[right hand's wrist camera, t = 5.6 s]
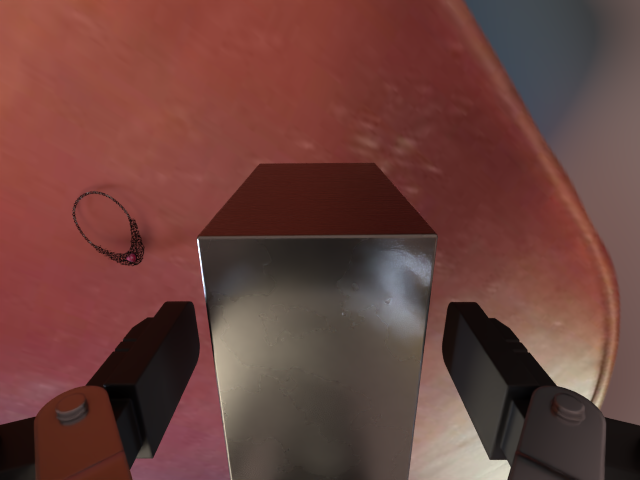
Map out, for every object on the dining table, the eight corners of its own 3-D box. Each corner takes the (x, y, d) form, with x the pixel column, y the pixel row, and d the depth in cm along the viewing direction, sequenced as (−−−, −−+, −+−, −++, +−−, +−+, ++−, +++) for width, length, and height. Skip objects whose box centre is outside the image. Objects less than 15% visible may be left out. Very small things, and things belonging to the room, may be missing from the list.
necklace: (124, 273, 29) (117, 279, 28) (61, 212, 27) (51, 216, 26) (162, 245, 28) (157, 251, 27) (100, 179, 26) (91, 182, 25)
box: (258, 163, 19) (195, 236, 9) (375, 162, 19) (439, 234, 9) (281, 501, 29) (262, 715, 19) (358, 500, 29) (380, 713, 19)
